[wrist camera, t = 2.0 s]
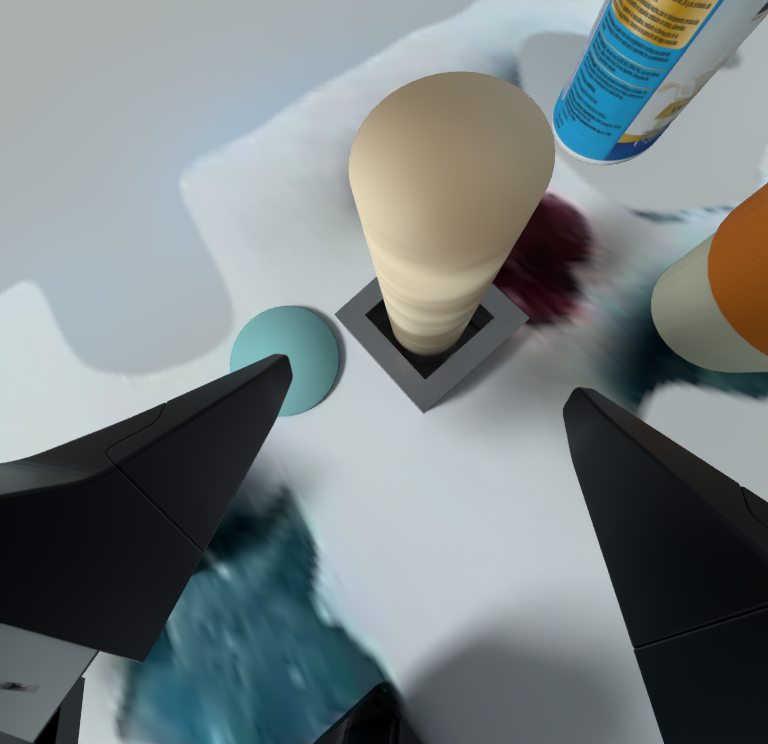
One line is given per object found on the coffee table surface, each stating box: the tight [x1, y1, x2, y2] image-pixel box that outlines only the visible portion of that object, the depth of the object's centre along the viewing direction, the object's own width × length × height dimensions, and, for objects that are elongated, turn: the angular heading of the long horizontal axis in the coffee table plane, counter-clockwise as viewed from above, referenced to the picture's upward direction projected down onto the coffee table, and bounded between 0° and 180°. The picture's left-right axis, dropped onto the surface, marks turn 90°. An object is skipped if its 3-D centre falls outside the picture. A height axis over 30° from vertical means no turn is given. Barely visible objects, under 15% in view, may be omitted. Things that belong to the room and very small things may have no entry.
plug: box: [349, 72, 555, 363], centre depth 14 cm, size 5×5×15 cm
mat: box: [230, 306, 339, 416], centre depth 22 cm, size 9×9×1 cm
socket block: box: [335, 277, 529, 413], centre depth 20 cm, size 9×9×4 cm
